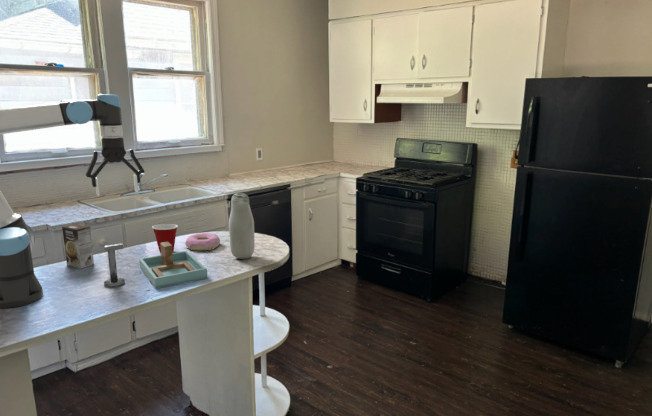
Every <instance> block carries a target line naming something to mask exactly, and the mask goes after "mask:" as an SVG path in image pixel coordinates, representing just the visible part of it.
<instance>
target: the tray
mask: <svg viewBox="0 0 652 416" xmlns="http://www.w3.org/2000/svg"><path fill="white" fill-rule="evenodd" d="M138 261H139V262H138V263H139V269H140V270H141V271H142V273H143V274H144V275H145V277H146V278H147V279H148V280H149V282H150V284H151V285H152V286H153V287H154V289H161V288H165V287H170V286H176V285H181V284H185V283H190V282H196V281H200V280H205V279H208V268H207V267H205V266H204V265H203V264H202V263H201V262H200V261H199V260H198V259H197V258H195V256H193V255H192V254H191V253H190V252H189V251H188V250H182V251H177V252H173V264H174V263H180V262H185V261H187V262H188V263H189V264H190V265H191V266H192V267H193V268H194V269H195V270H192V271H187V270H186V269H185V268H184V267H181V268H175V269H170V270H165V271H160V272H161V273H162V274H163V275H164V276H161V277H156V275H155V274H154V273H153V272H152V267H157V266H163V265H162V259H161V254H160V255H154V256H148V257H141V258H138Z"/></svg>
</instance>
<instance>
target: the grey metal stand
mask: <svg viewBox="0 0 652 416" xmlns="http://www.w3.org/2000/svg"><path fill="white" fill-rule="evenodd" d="M103 247H104V252H107V257H108V258H107V260H108V268H109V278H108V279H106V280H105V281H104V282H103V286H104V288H109V289H110V288H117V287H121V286H124V285H125V283H126V279H125V278H123V277H118V270H117V269H118V267H117V258H116V257H117V256H116V250H117V251H118V250H122V249H123V250H124V244H123V243H115V244H110V245H104V246H103Z"/></svg>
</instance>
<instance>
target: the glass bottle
mask: <svg viewBox="0 0 652 416" xmlns="http://www.w3.org/2000/svg"><path fill="white" fill-rule="evenodd" d="M230 205H231V207H230V214H229V218H228V219H229V220H228V233H229V249H230V252H231V254H232V256H233V257H235V258H237V259H239V260H240V259H241V260H245V259H249V258H251V257H252V255H253V254H254V251H255V220H254V216H253V212H252V209H251V205H250V198H249V195H248V194H247V193H243V192H236V193H234V194H232V196H231V200H230Z"/></svg>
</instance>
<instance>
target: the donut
mask: <svg viewBox="0 0 652 416" xmlns="http://www.w3.org/2000/svg"><path fill="white" fill-rule="evenodd" d="M220 242H221V239H220V237H219V236H218V235H217V234H216V233H215V234H213V233H210V232H207V233H201V232H200V233H195V234H192V235H189V236H188V237H187V238H186V241H185V243H184V244H185V246H186V247H187V248H188V249H190V251H199V252H200V251H201V252H203V251H210V250H213V249H216V248H217V247H219V245H220Z"/></svg>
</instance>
